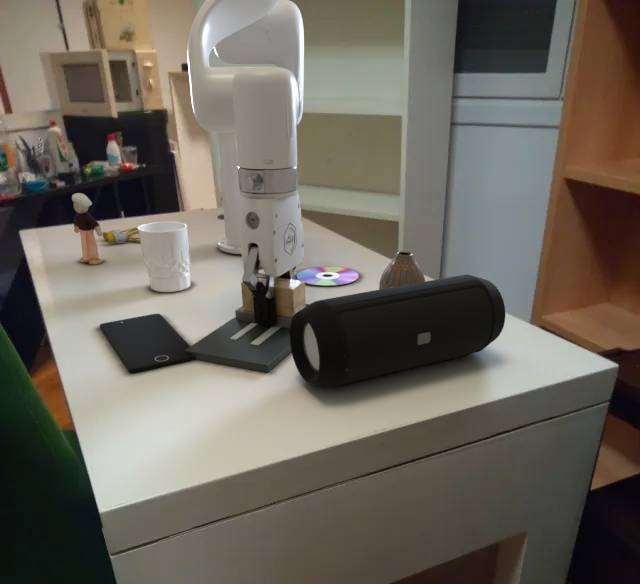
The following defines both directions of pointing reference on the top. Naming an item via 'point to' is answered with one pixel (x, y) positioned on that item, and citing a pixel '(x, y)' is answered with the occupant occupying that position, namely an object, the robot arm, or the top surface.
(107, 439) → the top surface
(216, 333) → the slate board
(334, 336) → the portable speaker
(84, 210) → the grandmother figurine
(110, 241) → the yellow grey glove
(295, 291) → the eraser
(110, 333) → the cell phone
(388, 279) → the vase
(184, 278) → the white cup
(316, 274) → the cd
